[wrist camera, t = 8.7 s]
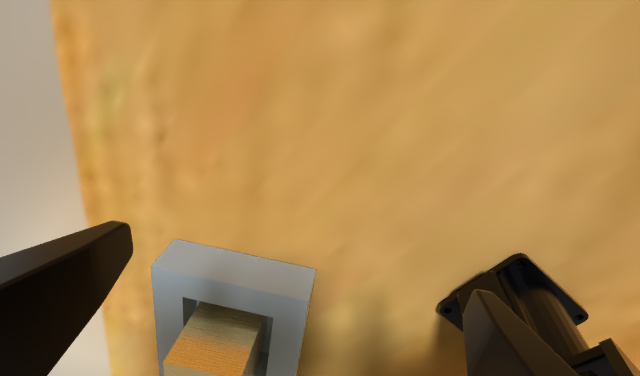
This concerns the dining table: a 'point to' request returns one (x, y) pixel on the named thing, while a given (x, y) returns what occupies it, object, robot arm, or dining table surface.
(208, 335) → the block
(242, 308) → the grey slotted plate
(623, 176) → the dining table surface
